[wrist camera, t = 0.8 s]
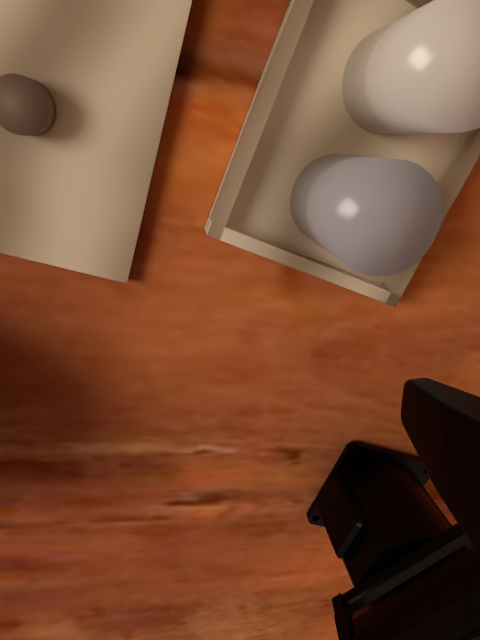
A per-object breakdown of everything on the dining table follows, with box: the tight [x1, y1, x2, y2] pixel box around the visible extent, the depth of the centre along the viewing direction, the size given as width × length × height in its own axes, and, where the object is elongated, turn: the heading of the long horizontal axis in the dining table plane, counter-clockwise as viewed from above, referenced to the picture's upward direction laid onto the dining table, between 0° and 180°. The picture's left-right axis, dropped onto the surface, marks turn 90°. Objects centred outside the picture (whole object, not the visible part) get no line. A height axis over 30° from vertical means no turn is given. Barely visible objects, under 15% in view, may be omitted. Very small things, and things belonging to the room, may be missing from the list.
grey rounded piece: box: [290, 154, 443, 277], centre depth 17 cm, size 4×4×6 cm
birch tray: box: [204, 0, 480, 307], centre depth 19 cm, size 10×12×2 cm
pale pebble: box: [342, 0, 480, 134], centre depth 16 cm, size 4×4×6 cm
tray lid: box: [0, 0, 192, 283], centre depth 16 cm, size 10×12×2 cm
